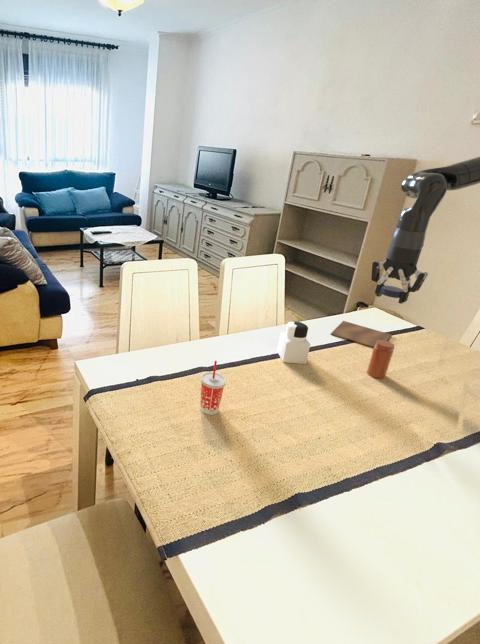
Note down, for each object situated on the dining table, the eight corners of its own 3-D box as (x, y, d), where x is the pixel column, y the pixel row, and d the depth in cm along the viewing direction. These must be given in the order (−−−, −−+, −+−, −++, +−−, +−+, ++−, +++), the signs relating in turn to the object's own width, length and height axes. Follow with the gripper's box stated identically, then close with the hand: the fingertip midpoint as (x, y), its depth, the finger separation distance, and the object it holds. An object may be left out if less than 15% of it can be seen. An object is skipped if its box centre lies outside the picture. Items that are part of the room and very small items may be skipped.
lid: (376, 293, 116) (378, 287, 116) (385, 290, 119) (387, 284, 118) (397, 299, 112) (399, 293, 111) (405, 296, 115) (407, 290, 114)
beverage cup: (221, 404, 100) (228, 357, 95) (221, 419, 94) (228, 369, 90) (198, 399, 101) (203, 352, 97) (196, 413, 96) (202, 365, 91)
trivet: (390, 335, 142) (390, 334, 141) (381, 350, 131) (381, 349, 130) (342, 322, 152) (343, 320, 152) (330, 334, 141) (330, 333, 140)
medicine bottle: (298, 353, 127) (305, 320, 123) (306, 364, 120) (314, 330, 116) (276, 351, 127) (282, 318, 123) (282, 362, 121) (289, 328, 117)
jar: (385, 373, 117) (395, 342, 113) (385, 380, 113) (395, 349, 109) (366, 368, 119) (375, 338, 116) (366, 375, 115) (375, 344, 112)
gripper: (373, 240, 114) (358, 294, 120) (430, 252, 103) (411, 310, 108) (385, 238, 118) (370, 290, 124) (441, 249, 107) (422, 305, 112)
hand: (389, 299), depth 116 cm, fingers closed on lid, 5 cm apart
